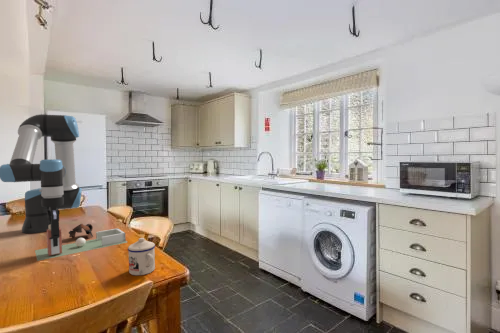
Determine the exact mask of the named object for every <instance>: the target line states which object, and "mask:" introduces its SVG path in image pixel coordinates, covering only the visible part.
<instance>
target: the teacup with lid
mask: <svg viewBox="0 0 500 333" xmlns="http://www.w3.org/2000/svg"><path fill="white" fill-rule="evenodd" d="M155 247H156V244H155V243H154V242H152V241H149V240H146V239H145V238H144V237H140V238H138V240H137V241H136V242H134V243H131V244H130V245H129V246H128V247H127V252H128V272H129V274H131V275H132V276H145V275H148V274H150V273H152V272H153V271H155V269H156V263H155V262H156V261H155V260H156V259H155V258H156V257H155V256H156V253H155Z"/></svg>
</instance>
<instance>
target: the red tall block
mask: <svg viewBox="0 0 500 333" xmlns="http://www.w3.org/2000/svg"><path fill="white" fill-rule="evenodd" d="M48 228H49V229H47V231H46V241H47V242H46V244H47V247H46V248H48V255H49V256H50V255H52V254H51V239H49V238H51V224H50V225H48ZM59 235H60V237H59V249H60V253H62V245H63V244H62V243H63V242H62V241H63V240H62V229H61V227H60V226H59ZM60 253H58V254H60ZM53 255H55V254H53Z"/></svg>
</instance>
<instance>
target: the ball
mask: <svg viewBox="0 0 500 333" xmlns="http://www.w3.org/2000/svg"><path fill="white" fill-rule="evenodd" d="M86 241H87V240H86V239H85V238H84V237H79V238H77V239H76V240H75V242H74V243H75V244H76V246H78V247H82V246H84V245H85V243H86Z"/></svg>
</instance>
